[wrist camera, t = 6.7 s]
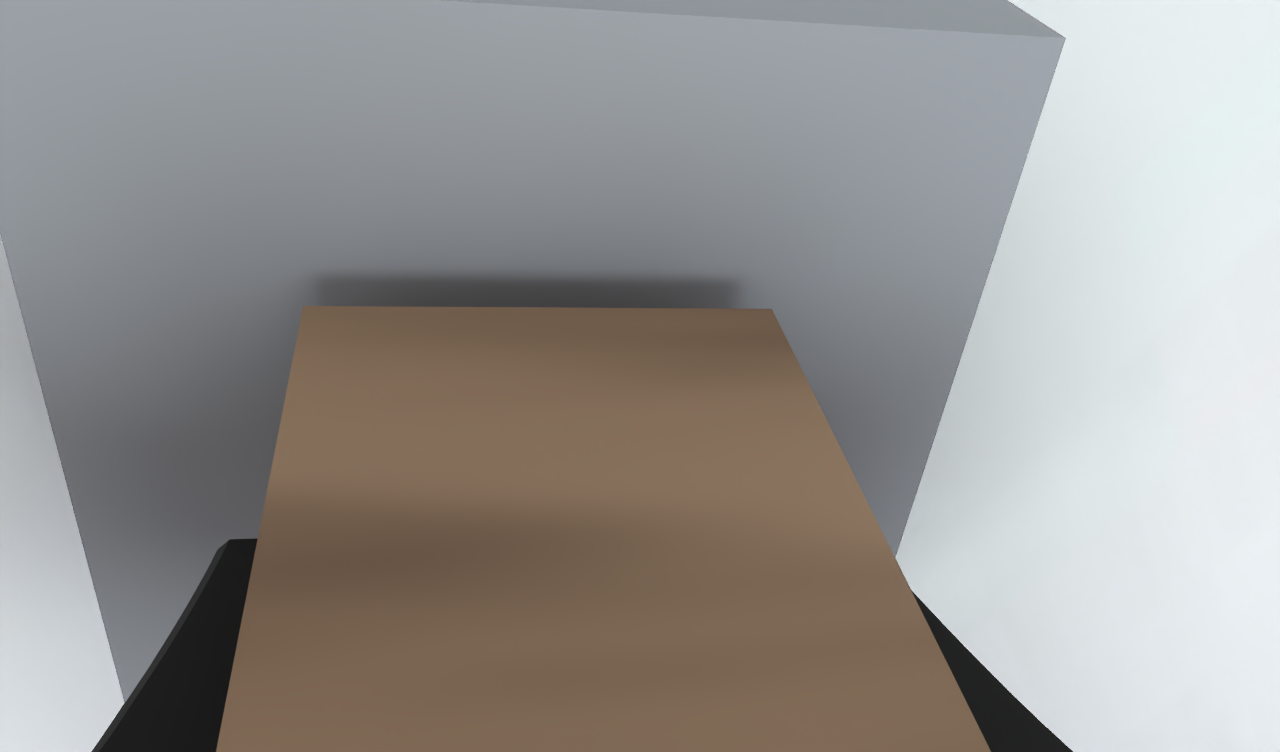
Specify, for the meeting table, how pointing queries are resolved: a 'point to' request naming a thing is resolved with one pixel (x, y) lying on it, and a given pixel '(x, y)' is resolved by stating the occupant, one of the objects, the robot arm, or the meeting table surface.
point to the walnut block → (572, 547)
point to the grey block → (480, 214)
